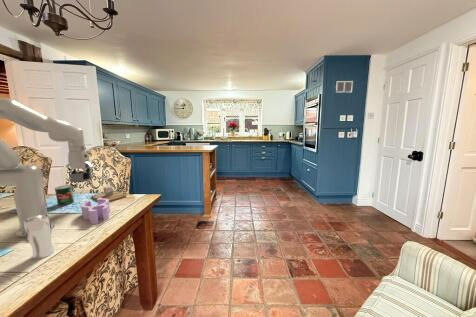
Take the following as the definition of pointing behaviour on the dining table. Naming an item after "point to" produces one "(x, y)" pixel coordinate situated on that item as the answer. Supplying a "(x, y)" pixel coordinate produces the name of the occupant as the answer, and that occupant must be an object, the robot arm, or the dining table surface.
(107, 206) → the clip
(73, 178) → the collar
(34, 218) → the beer glass
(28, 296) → the dining table surface
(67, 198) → the canned tomato
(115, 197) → the dock
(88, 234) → the dining table surface
